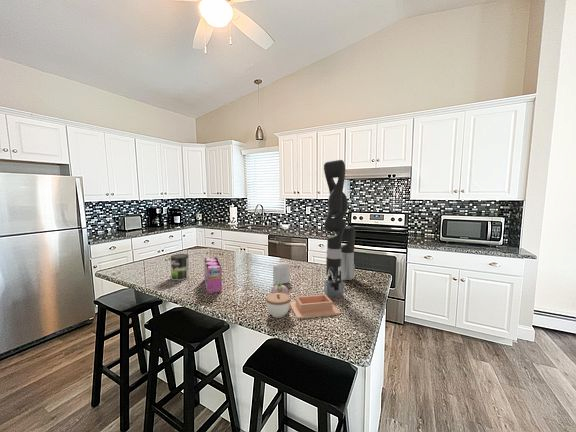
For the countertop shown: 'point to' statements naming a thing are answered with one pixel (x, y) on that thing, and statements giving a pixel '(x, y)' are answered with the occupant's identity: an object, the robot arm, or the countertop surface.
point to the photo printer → (281, 273)
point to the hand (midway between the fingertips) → (332, 287)
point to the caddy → (313, 306)
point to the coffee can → (179, 267)
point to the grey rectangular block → (330, 289)
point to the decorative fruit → (280, 289)
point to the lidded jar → (278, 304)
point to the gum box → (213, 275)
